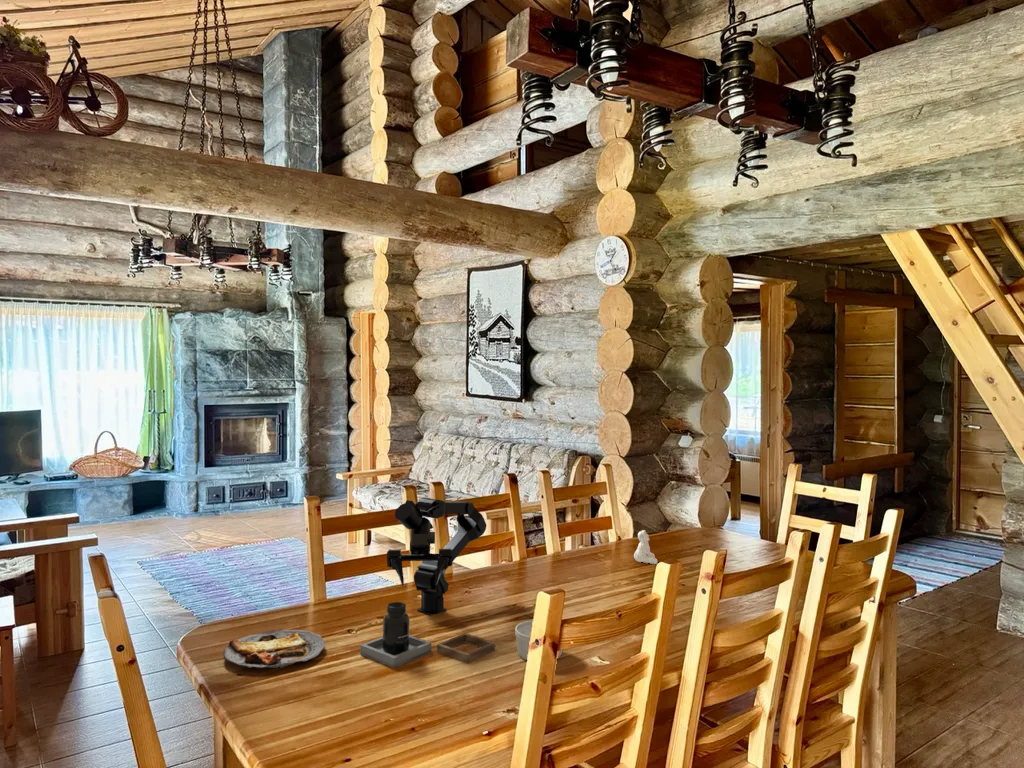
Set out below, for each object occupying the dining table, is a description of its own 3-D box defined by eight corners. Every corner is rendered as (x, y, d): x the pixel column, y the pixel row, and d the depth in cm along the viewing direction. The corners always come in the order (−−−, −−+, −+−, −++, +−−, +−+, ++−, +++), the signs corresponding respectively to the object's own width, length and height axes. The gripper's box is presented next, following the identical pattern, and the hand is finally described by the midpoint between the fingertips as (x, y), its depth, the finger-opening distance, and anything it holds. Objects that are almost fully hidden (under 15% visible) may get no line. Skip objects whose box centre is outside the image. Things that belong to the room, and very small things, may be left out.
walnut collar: (436, 652, 193) (436, 644, 193) (465, 640, 202) (465, 632, 202) (467, 663, 187) (467, 655, 186) (495, 650, 195) (495, 642, 195)
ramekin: (570, 649, 197) (571, 623, 197) (557, 668, 184) (558, 641, 184) (523, 642, 201) (524, 617, 201) (507, 660, 189) (508, 634, 188)
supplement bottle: (404, 656, 188) (404, 609, 188) (378, 654, 190) (378, 608, 189) (412, 646, 195) (412, 601, 195) (388, 644, 196) (388, 599, 196)
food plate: (228, 680, 175) (229, 665, 175) (218, 646, 196) (218, 633, 196) (333, 664, 187) (334, 650, 187) (313, 634, 207) (313, 621, 207)
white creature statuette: (658, 564, 278) (659, 533, 278) (635, 564, 279) (636, 533, 278) (653, 558, 288) (654, 527, 288) (631, 557, 288) (632, 527, 288)
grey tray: (360, 654, 191) (360, 644, 191) (397, 639, 201) (397, 630, 201) (394, 668, 183) (394, 658, 183) (431, 652, 193) (431, 642, 193)
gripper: (387, 521, 210) (384, 571, 200) (452, 521, 212) (453, 569, 202) (388, 542, 218) (386, 590, 208) (451, 541, 220) (452, 589, 210)
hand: (419, 584), depth 206 cm, fingers open, 9 cm apart
